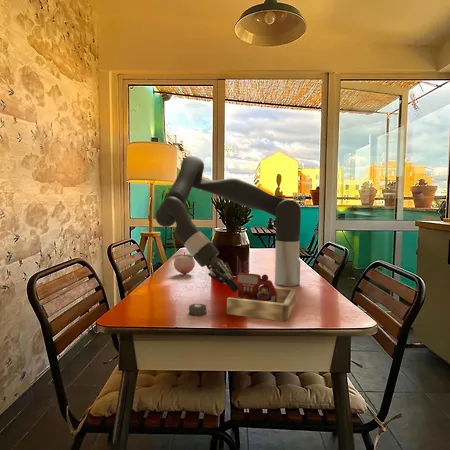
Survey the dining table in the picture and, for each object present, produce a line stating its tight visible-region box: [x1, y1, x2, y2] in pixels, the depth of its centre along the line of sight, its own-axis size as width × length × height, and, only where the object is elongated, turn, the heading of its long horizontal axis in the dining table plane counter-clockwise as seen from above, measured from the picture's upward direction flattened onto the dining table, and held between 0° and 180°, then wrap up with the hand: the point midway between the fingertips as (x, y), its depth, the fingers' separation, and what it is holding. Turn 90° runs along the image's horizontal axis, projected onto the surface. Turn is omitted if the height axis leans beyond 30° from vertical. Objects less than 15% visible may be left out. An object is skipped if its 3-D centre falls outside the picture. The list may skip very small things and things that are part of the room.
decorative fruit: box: [173, 252, 196, 275], centre depth 147 cm, size 9×8×10 cm
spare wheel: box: [188, 303, 207, 317], centre depth 97 cm, size 5×5×2 cm
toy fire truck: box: [236, 272, 277, 303], centre depth 103 cm, size 7×12×10 cm, turn 71°
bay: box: [226, 285, 297, 322], centre depth 102 cm, size 18×18×4 cm
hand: (237, 290), depth 105 cm, fingers closed
